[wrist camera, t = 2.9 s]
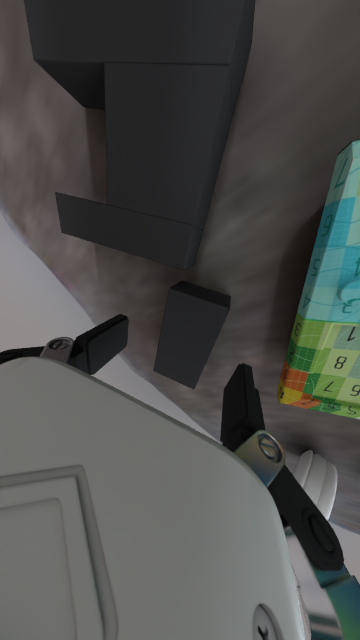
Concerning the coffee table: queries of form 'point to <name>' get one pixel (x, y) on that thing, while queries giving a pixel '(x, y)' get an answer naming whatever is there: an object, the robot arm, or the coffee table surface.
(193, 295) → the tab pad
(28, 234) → the coffee table surface
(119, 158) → the notch pad
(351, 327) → the puzzle game
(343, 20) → the coffee table surface
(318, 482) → the headphones
